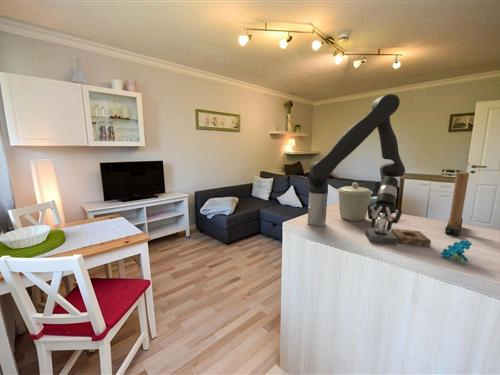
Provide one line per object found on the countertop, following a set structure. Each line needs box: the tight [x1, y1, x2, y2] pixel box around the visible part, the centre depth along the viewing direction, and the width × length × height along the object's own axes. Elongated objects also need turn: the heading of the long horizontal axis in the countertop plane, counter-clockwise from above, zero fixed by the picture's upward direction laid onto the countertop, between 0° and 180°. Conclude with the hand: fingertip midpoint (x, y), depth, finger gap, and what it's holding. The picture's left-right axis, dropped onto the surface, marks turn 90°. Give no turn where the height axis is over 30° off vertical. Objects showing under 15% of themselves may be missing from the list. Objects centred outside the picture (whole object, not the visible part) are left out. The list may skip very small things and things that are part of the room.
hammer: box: [444, 171, 470, 236], centre depth 105 cm, size 20×5×30 cm, turn 134°
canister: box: [337, 182, 374, 222], centre depth 126 cm, size 18×18×21 cm
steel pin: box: [376, 213, 387, 235], centre depth 98 cm, size 3×3×12 cm
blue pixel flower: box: [440, 239, 473, 267], centre depth 80 cm, size 11×6×10 cm
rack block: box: [390, 228, 432, 248], centre depth 97 cm, size 11×11×3 cm
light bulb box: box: [369, 196, 380, 217], centre depth 134 cm, size 11×7×11 cm, turn 117°
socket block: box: [364, 227, 398, 246], centre depth 99 cm, size 10×10×3 cm
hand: (380, 228), depth 97 cm, fingers open, 5 cm apart
